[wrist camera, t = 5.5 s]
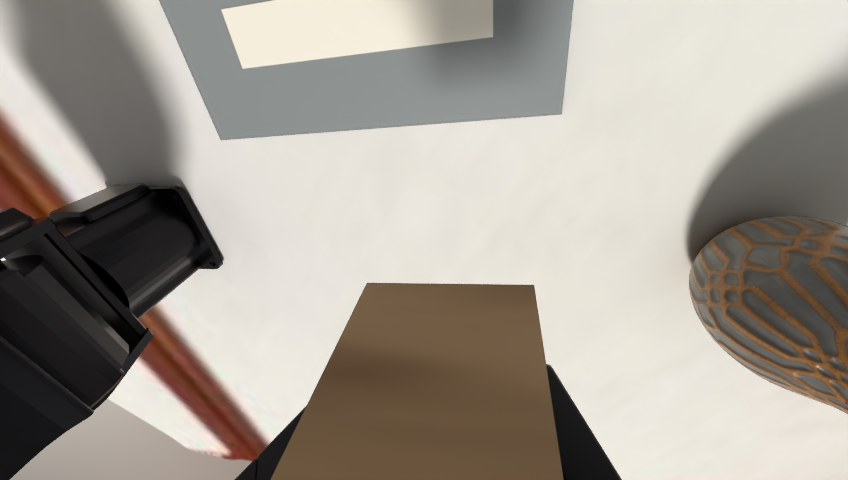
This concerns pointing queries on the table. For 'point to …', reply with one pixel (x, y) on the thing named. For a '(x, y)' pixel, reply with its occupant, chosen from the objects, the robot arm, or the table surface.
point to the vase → (780, 302)
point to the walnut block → (431, 390)
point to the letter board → (371, 61)
